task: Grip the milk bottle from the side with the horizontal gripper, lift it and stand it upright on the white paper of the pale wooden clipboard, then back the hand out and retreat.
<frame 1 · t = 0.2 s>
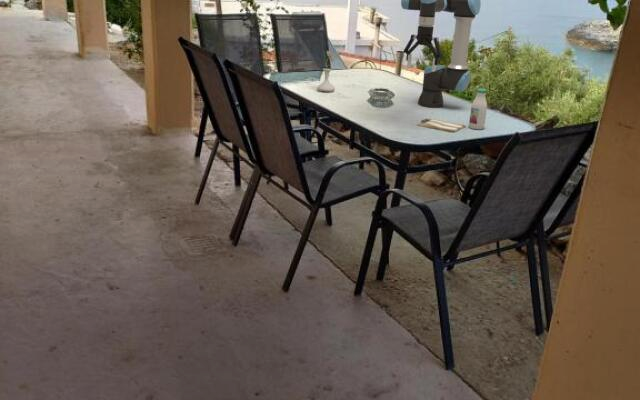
hand: (420, 69, 296), 28 cm above the table, tool pointing down, fingers open, 13 cm apart
clipboard: (441, 126, 304), on the table
milk bottle: (476, 128, 304), on the table
flower in vase: (326, 91, 376), on the table
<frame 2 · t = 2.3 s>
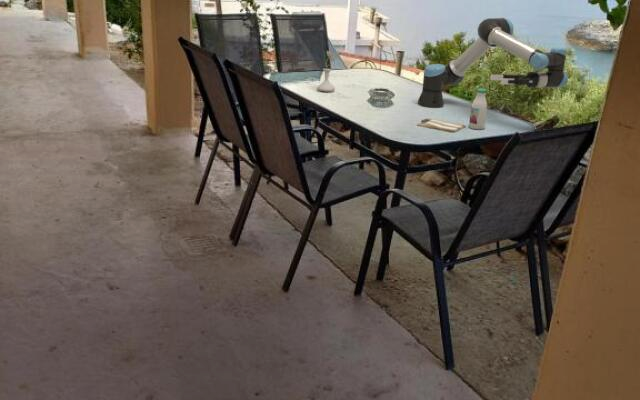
hand: (495, 79, 296), 25 cm above the table, tool horizontal, fingers open, 13 cm apart
nothing on the table moved.
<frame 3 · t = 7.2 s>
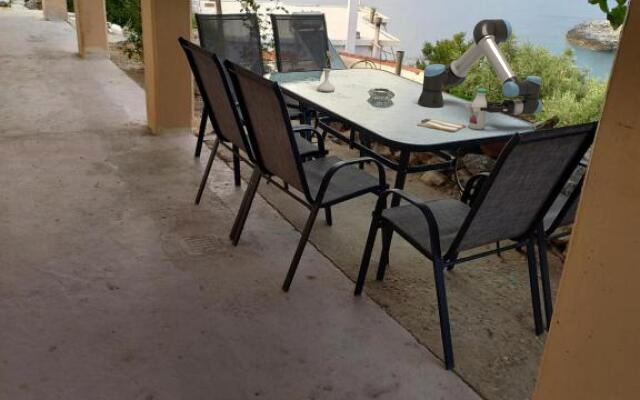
hand: (470, 106, 299), 11 cm above the table, tool horizontal, fingers closed on milk bottle, 7 cm apart
milk bottle: (476, 128, 304), on the table, touching gripper
everything else where it was.
when the fingers open (14 cm above the table, at t = 11.9 s): milk bottle drops 1 cm, resting on clipboard.
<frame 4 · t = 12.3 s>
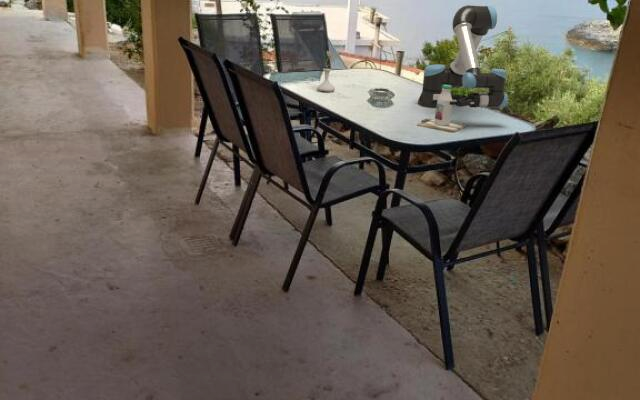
hand: (438, 99, 298), 14 cm above the table, tool horizontal, fingers open, 12 cm apart
milk bottle: (441, 124, 303), point 1 cm above the table, touching clipboard
everything else where it was.
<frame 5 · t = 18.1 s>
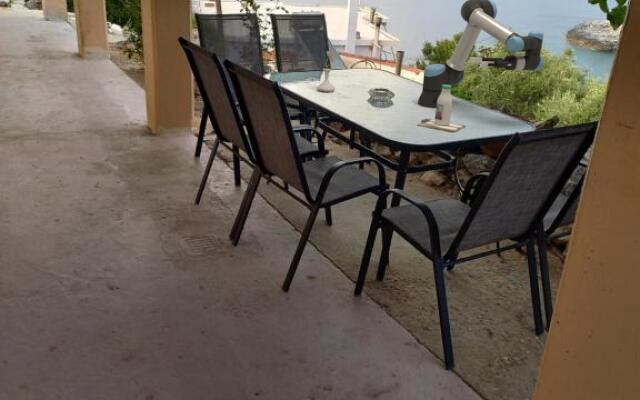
hand: (475, 62, 300), 32 cm above the table, tool horizontal, fingers open, 13 cm apart
nothing on the table moved.
at the end: milk bottle inside the target area on the clipboard (0.1 cm from its centre), point 0.9 cm above the clipboard's base; milk bottle tilted 0°; the gripper is holding nothing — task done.
